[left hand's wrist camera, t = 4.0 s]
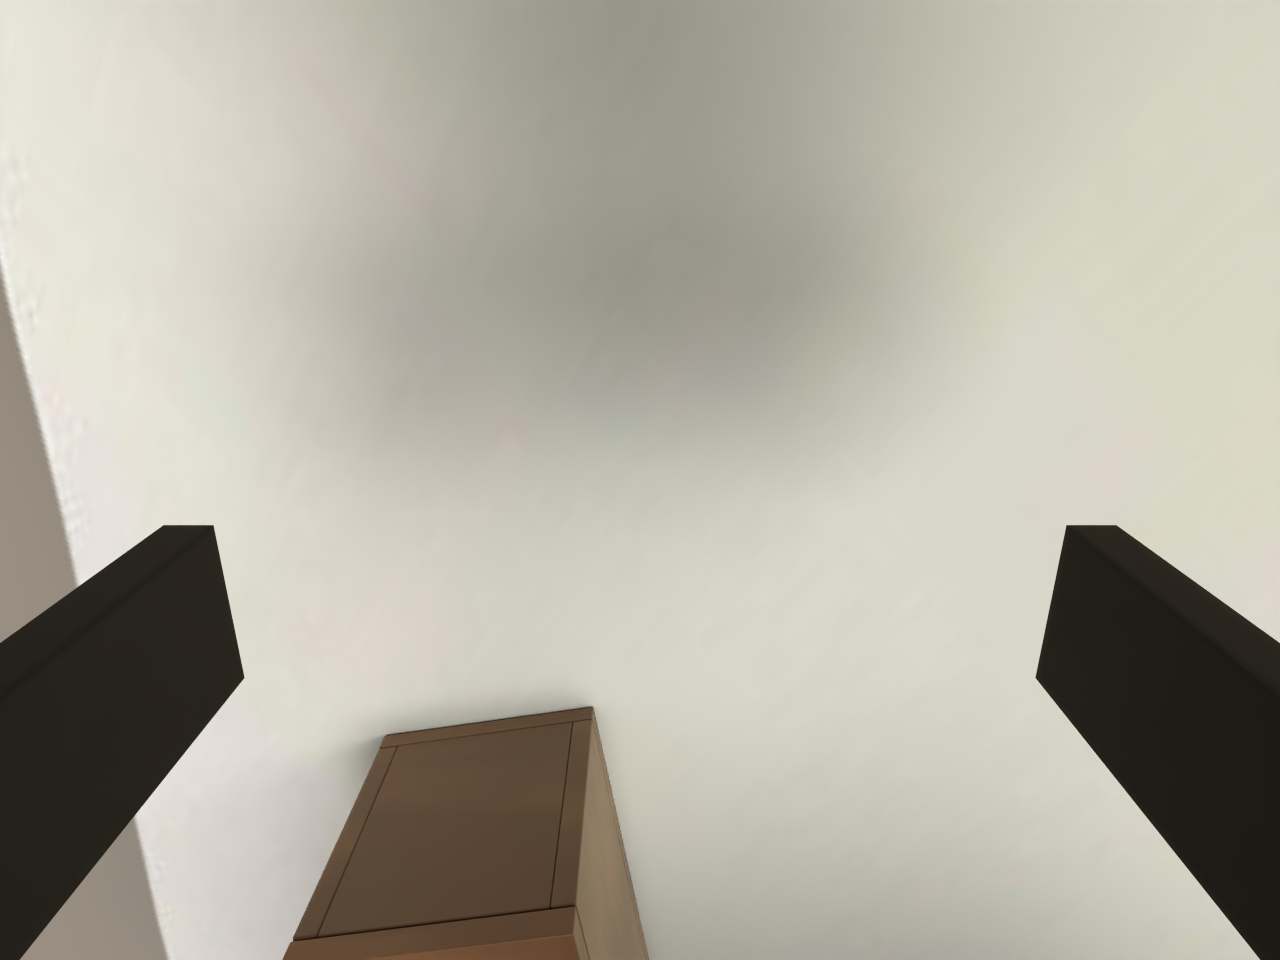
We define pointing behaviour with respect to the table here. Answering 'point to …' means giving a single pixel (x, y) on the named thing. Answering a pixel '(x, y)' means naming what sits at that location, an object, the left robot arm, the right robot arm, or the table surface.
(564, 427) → the table surface
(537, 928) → the lid
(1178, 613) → the left robot arm
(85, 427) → the table surface
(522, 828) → the chest
